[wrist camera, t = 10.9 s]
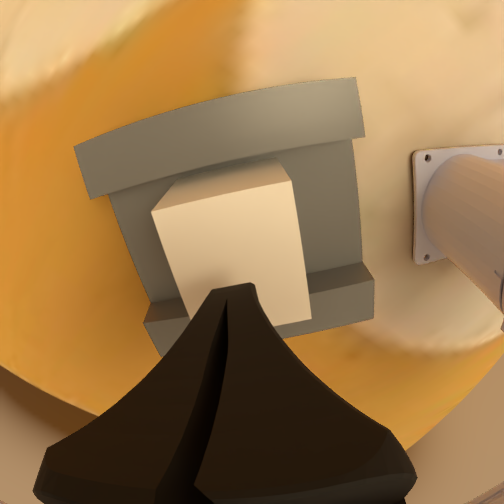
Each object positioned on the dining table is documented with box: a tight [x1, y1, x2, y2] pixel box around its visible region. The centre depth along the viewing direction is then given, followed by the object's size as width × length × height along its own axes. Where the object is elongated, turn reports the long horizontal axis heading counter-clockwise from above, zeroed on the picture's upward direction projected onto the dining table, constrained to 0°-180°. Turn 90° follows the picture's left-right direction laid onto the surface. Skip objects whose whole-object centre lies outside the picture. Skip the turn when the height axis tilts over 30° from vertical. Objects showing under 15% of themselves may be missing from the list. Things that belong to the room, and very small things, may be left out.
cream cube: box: [151, 157, 312, 326], centre depth 15 cm, size 5×6×6 cm
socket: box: [74, 77, 374, 357], centre depth 16 cm, size 13×13×4 cm
